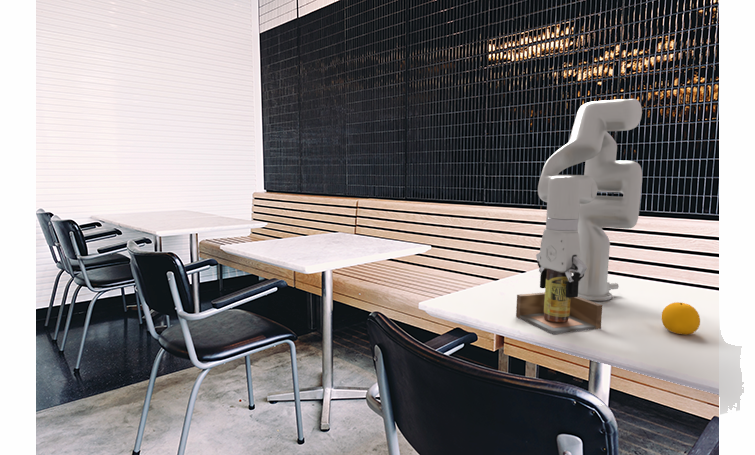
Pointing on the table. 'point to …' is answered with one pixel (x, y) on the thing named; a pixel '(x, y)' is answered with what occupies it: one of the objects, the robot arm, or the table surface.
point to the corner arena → (580, 319)
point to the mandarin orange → (680, 318)
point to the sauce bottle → (556, 297)
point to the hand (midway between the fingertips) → (558, 292)
